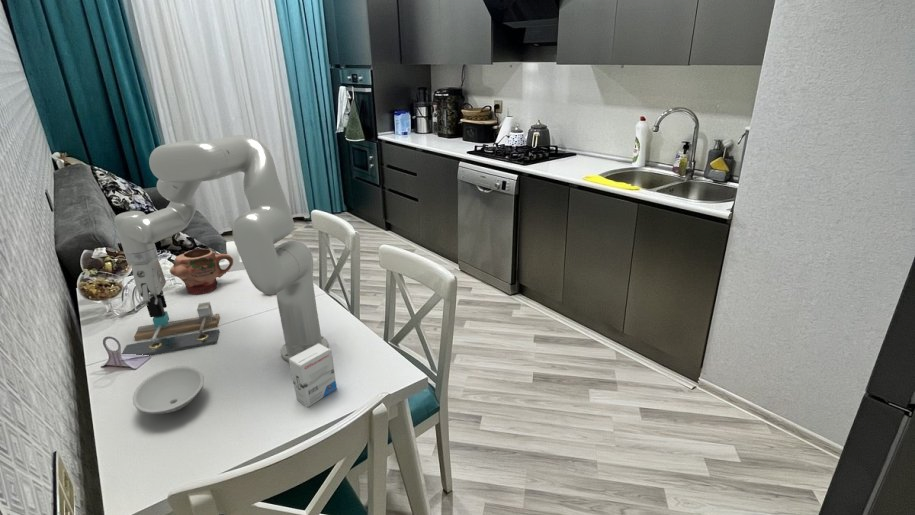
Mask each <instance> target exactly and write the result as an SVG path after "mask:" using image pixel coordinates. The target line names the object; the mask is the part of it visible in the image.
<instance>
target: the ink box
mask: <svg viewBox="0 0 915 515" xmlns="http://www.w3.org/2000/svg"><path fill="white" fill-rule="evenodd" d="M333 360H334V359H333V354H332V349H331V348H329V347H328V348H327V347H326V346H324V345H322V344H320V343H318V344H316V345H314V346H313V347H311V348H309V349H307V350H305V351H303V352H301V353H299V354H297V355H295V356H293V357H291V358H289V361H288V362H289V368H290V373H291V377H292V378H291V379H292V382H293V383H292V384H293V388H294V392H295V393H294V394H295V397H296V400H297V401H298V402H300V403H301V404H302V405H304V406H306V408H309V407H311V406H312V405H314V404H315V403H317V402H319V401H320V400H321V399H324V397H326V396H328V395H329V394H331V393H332V392H334V391H335V390H337V388H338V387H337V380H336V374H335V367H334V361H333Z"/></svg>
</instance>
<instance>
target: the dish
mask: <svg viewBox="0 0 915 515" xmlns="http://www.w3.org/2000/svg"><path fill="white" fill-rule="evenodd" d="M204 383H205V377H204V374H203V372H202V371H200V370H199V369H198V368H196V367H193V366H186V365H183V366H182V365H181V366H180V365H179V366H173V367H169V368H165V369H162V370H159V371H157V372H156V373H154V374H152V375H150V376H149V377H147V378H146V379H144V380H142V382H141V383H140V384H138V386H137V387H136V389H135V391H133V395H132V404H133V406H134V407H135V408H136V409H137V410H138V411H140V412H143V413H148V414H159V415H161V414H169V413H173V412H176V411H178V410H181V409H182V408H184V407H185V406H187V405H188V404H190V402H192V401H193V400H194V398H195V397H196V396H197V395H198V394H199V392H200V391H201V390H202V388H203V386H204Z"/></svg>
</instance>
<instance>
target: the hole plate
mask: <svg viewBox="0 0 915 515" xmlns="http://www.w3.org/2000/svg"><path fill="white" fill-rule="evenodd" d="M202 333H203V335H202V336H201V335H200V332H195V333H188V334H182V335H176V336H171V337H163V338H159V339H155V341H156V344H154V343H153V340H152V339H151V340H147V341H142V342H135V343H131V344H126V346H125V347H124V348H123V351H122V352H121V354H136V355H142V354H143V355H149V356H148V357H152V356H157V354H158V355H163V354H169V353H174V352H179V351H180V352H181V351H185V350H191V349H196V348H202V347H207V346H213V345H217V344H218V340H219V336H220V333H221V332H220V329H219V328H218V329H211V330H207V331H202ZM162 353H163V354H162ZM150 355H151V356H150Z"/></svg>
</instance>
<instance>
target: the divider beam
mask: <svg viewBox="0 0 915 515" xmlns="http://www.w3.org/2000/svg"><path fill="white" fill-rule="evenodd" d="M196 311H197V314H198V315H197V317H191V318H184V319H179V320H172V321H168V323H167V325H166V326H162V327H161V329H160V331H159V333H158V335H157V337H156V338H160V337H167V336H173V335H178V334H184V333H190V332H196V331H199V332H200V335H201V336H202V335H203V333H202V332H203V330H207V329H216V328H218V327H219V324H220V319H221V316H220V313H215V314H214V313H213V308H212V305H211V302H210V301H207V302H200V303H198V305H197V309H196ZM157 328H158V327H155V326H154V323H153V324H148V325H146V324H145V325H141V326H138V327H137V328H136V329H137V330H136V332H135V334H134V336H133V338H134V341H135V342H138V341H143V340H149V339H150V340H151V339H152V338H153V336H154V334H155V332H156V330H157ZM199 332H198V333H199Z"/></svg>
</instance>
